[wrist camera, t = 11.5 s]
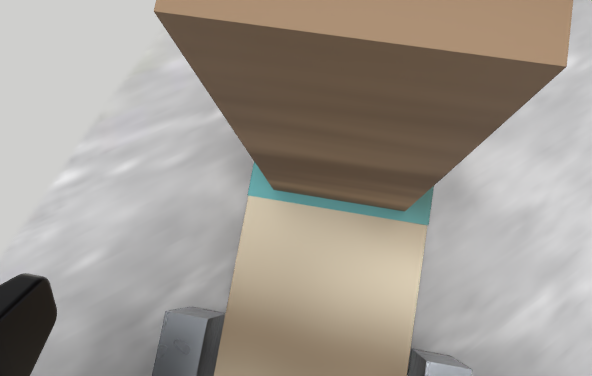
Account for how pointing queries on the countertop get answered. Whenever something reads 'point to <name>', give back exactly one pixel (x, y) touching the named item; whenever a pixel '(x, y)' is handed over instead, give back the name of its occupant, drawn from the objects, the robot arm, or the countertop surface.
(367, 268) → the seesaw beam
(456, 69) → the column
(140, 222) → the countertop surface
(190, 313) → the seesaw stand
